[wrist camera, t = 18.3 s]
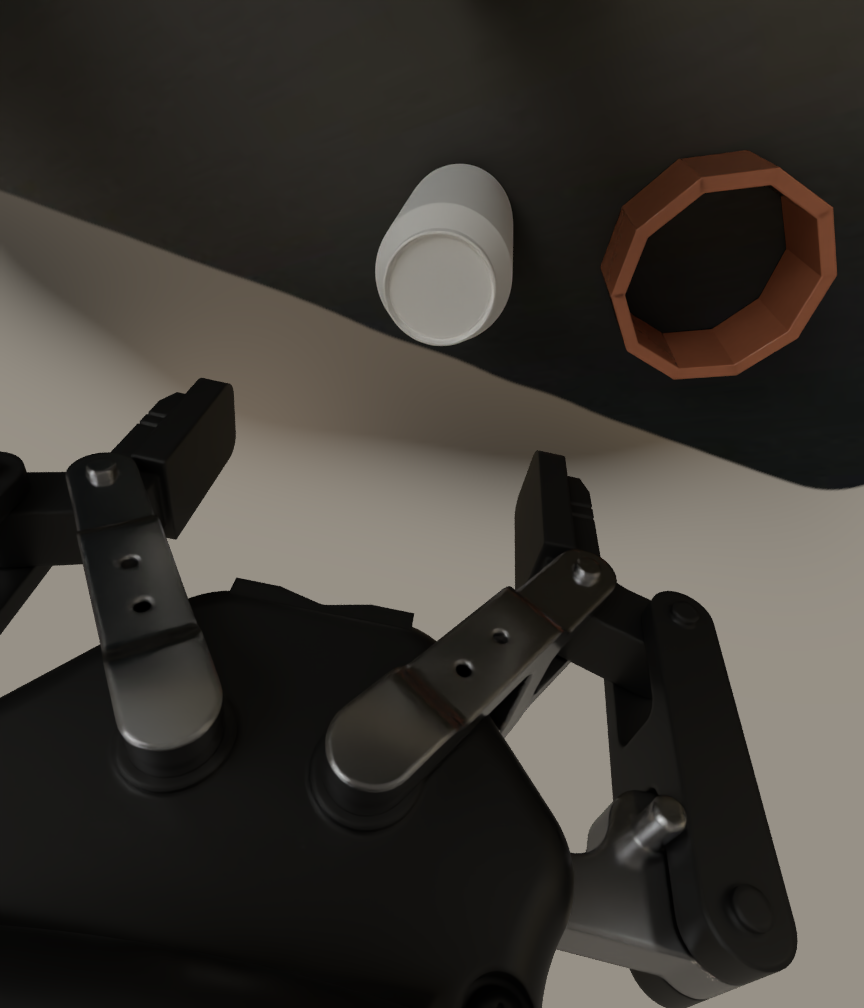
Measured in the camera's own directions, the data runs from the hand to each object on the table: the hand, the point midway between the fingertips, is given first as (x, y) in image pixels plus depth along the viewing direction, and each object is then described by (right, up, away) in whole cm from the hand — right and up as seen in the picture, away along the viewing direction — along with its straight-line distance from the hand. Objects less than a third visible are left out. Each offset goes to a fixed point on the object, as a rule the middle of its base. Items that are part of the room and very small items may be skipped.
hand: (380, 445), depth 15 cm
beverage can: (+3, +15, +19) cm, 24 cm away
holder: (+17, +13, +18) cm, 28 cm away
